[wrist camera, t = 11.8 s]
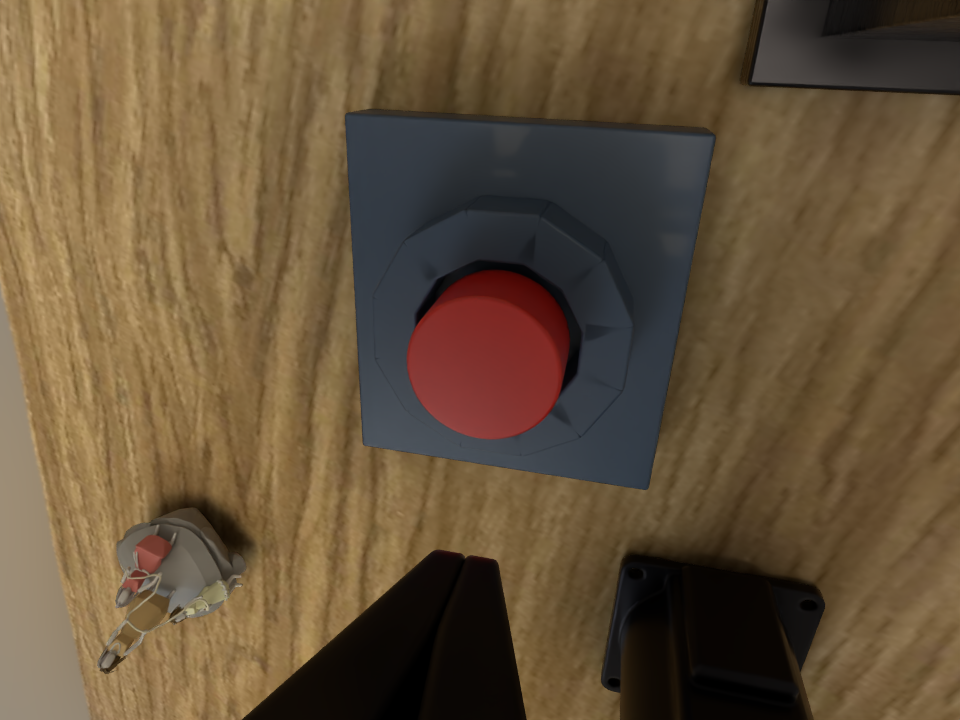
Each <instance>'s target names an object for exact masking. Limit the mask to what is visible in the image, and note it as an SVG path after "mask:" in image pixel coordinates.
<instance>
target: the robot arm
mask: <svg viewBox="0 0 960 720" xmlns="http://www.w3.org/2000/svg"><path fill="white" fill-rule="evenodd" d="M632 568H637V569H640V571H632V570H630V569H632ZM804 600H811V601H809V602H802V601H804ZM824 609H825V602H824V599H823V597H822V594H821V592H820V590H818V589H817V588H816V587H814V586H811V585H806V584H801V583H795V582H790V581H784V580H778V579H773V578H767V577H761V576H756V575H750V574H744V573H739V572H733V571H727V570H722V569H716V568H710V567H705V566H699V565H693V564H688V563H682V562H676V561H671V560H665V559H659V558H654V557H648V556H642V555H629V556H626V557H625V558H623V560H622V562H621V565H620V571H619V576H618V582H617V588H616V593H615V599H614V604H613V610H612V615H611V621H610V627H609V632H608V638H607V643H606V649H605V654H604V660H603V665H602V672H601V683H602V685H603V686H604V687H605V688H606V689H608V690H611V691H614V692H618V693H620V720H814V719H813V715H812V712H811V708H810V705H809V701H808V698H807V694H806V691H805V687H804V684H803V680H802V677H801V673H800V672H801V669H802V666H803V664H804V661H805V659H806V656H807V653H808V651H809V648H810V646H811V643H812V640H813V638H814V635H815V633H816V630H817V627H818V625H819V622H820V620H821V617H822V615H823V612H824ZM242 720H527V719H526V714H525V708H524V703H523V697H522V692H521V686H520V681H519V675H518V670H517V664H516V659H515V653H514V648H513V642H512V637H511V631H510V626H509V620H508V615H507V609H506V604H505V598H504V593H503V587H502V581H501V576H500V570H499V565H498V563H497V561H496V560H494V559H490V558H484V557H478V556H473V555H470V556H468V557H467V558H466V559H465V556H464V555H462V554H461V553H455V552H450V551H444V550H435V551H432V552H431V553H430V554H429V555H428V556H426V557H425V558H424V559H423V560H422V561H421V562H420V563H419V564H417V565H416V566H415V567H414V568H413V569H412V570H411V571H409V572H408V573H407V574H406V575H405V576H404V577H403V578H402V579H400V580H399V581H398V582H397V583H396V584H395V585H394V586H393V587H391V588H390V589H389V590H388V591H387V592H386V593H385V594H383V595H382V596H381V597H380V598H379V599H378V600H377V601H376V602H374V603H373V604H372V605H371V606H370V607H369V608H368V609H366V610H365V611H364V612H363V613H362V614H361V615H360V616H359V617H357V618H356V619H355V620H354V621H353V622H352V623H351V624H349V625H348V626H347V627H346V628H345V629H344V630H343V631H342V632H340V633H339V634H338V635H337V636H336V637H335V638H334V639H333V640H331V641H330V642H329V643H328V644H327V645H326V646H325V647H323V648H322V649H321V650H320V651H319V652H318V653H317V654H316V655H314V656H313V657H312V658H311V659H310V660H309V661H308V662H306V663H305V664H304V665H303V666H302V667H301V668H300V669H299V670H297V671H296V672H295V673H294V674H293V675H292V676H291V677H290V678H288V679H287V680H286V681H285V682H284V683H283V684H282V685H280V686H279V687H278V688H277V689H276V690H275V691H274V692H273V693H271V694H270V695H269V696H268V697H267V698H266V699H265V700H263V701H262V702H261V703H260V704H259V705H258V706H257V707H256V708H254V709H253V710H252V711H251V712H250V713H249V714H248V715H246V716H245V717H244V718H243V719H242Z"/></svg>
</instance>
